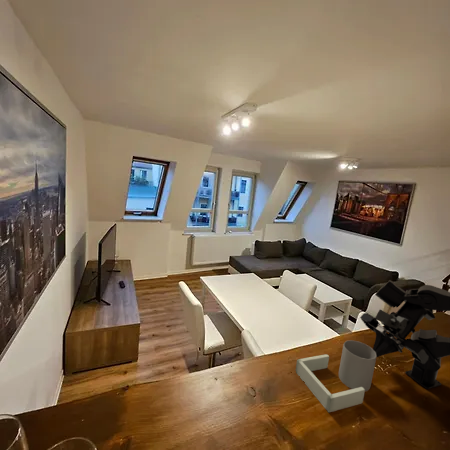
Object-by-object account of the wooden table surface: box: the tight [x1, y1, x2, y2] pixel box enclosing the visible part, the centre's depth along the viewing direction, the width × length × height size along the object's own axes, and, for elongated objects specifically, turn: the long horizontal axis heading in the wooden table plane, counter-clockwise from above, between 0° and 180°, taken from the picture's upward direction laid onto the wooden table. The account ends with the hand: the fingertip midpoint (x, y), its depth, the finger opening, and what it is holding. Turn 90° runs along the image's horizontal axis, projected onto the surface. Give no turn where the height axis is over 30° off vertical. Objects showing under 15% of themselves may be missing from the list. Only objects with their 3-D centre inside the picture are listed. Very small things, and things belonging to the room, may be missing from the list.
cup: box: [338, 339, 378, 392], centre depth 72 cm, size 8×8×10 cm
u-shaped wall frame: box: [295, 354, 366, 413], centre depth 69 cm, size 11×14×4 cm
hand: (372, 356), depth 74 cm, fingers closed
